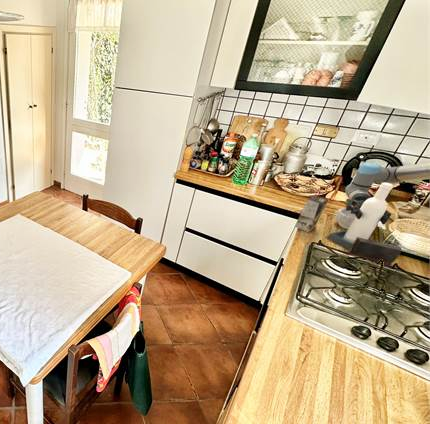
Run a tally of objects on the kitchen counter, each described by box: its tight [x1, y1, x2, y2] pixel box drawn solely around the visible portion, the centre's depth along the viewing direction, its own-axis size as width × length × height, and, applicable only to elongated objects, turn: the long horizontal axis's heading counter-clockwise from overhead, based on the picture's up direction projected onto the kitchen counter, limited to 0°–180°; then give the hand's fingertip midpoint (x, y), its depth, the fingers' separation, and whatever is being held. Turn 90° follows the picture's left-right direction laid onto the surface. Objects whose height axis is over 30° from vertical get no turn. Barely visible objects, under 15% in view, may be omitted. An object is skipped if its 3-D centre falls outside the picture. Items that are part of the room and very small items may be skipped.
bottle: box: [343, 182, 394, 243], centre depth 137 cm, size 8×8×30 cm
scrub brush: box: [347, 237, 402, 268], centre depth 132 cm, size 14×3×9 cm, turn 58°
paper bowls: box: [334, 207, 356, 230], centre depth 156 cm, size 15×15×8 cm
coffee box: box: [294, 195, 329, 233], centre depth 154 cm, size 9×6×16 cm
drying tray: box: [327, 229, 375, 251], centre depth 144 cm, size 14×14×3 cm
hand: (372, 219), depth 134 cm, fingers closed on bottle, 8 cm apart
